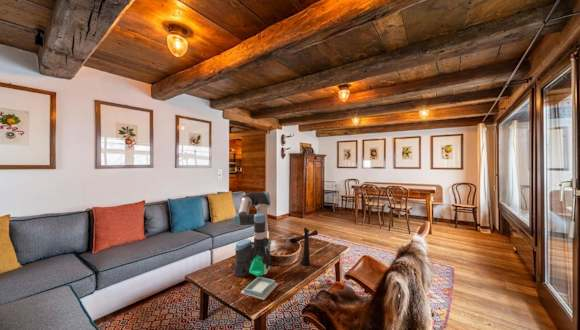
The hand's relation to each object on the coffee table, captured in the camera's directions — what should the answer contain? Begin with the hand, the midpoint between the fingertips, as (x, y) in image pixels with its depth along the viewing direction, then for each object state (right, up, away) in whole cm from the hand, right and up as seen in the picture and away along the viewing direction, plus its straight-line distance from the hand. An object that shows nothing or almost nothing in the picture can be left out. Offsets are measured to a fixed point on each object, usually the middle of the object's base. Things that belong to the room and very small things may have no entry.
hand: (259, 271), depth 149 cm
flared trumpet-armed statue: (+32, -11, +37) cm, 50 cm away
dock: (0, -11, 0) cm, 11 cm away
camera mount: (0, -1, 0) cm, 1 cm away
